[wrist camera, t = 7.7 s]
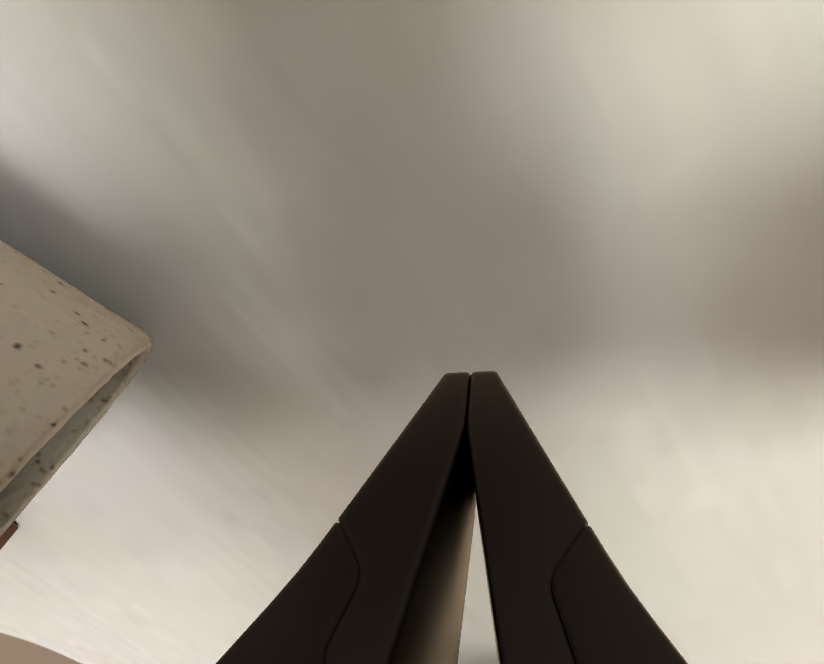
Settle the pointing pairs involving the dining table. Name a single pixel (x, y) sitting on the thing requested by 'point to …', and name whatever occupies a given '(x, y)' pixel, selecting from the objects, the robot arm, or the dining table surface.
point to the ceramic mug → (53, 373)
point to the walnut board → (7, 534)
